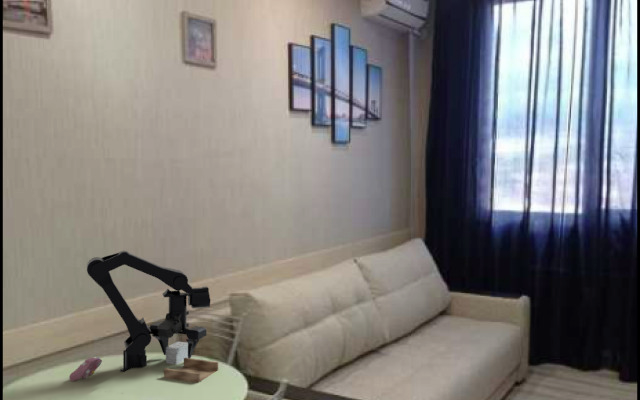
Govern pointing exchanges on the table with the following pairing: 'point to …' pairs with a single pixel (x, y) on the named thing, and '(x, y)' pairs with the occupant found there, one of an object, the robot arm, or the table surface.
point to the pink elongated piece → (86, 368)
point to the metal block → (176, 352)
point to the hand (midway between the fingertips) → (177, 356)
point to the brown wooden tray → (192, 370)
